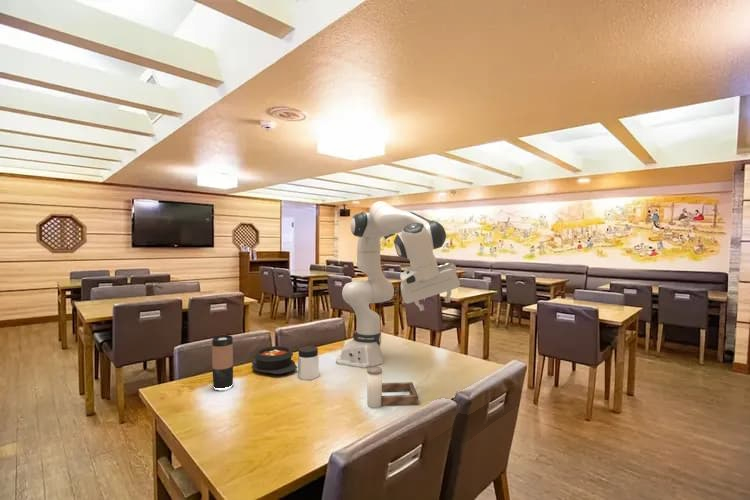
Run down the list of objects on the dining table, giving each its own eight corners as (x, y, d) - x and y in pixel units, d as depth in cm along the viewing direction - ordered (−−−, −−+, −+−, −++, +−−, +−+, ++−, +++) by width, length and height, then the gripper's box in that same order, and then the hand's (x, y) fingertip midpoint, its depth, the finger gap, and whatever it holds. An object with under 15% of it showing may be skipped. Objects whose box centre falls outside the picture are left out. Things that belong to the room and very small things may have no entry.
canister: (365, 407, 131) (365, 370, 130) (369, 400, 136) (369, 365, 135) (380, 409, 129) (380, 372, 129) (383, 402, 135) (383, 366, 134)
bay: (382, 405, 132) (382, 397, 132) (379, 390, 145) (379, 383, 145) (418, 404, 133) (418, 396, 132) (412, 389, 146) (412, 382, 145)
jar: (320, 378, 157) (320, 350, 156) (301, 381, 153) (301, 353, 153) (314, 371, 165) (314, 344, 165) (296, 374, 161) (296, 347, 161)
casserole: (307, 370, 166) (307, 352, 166) (269, 382, 153) (269, 362, 153) (277, 357, 184) (277, 341, 184) (241, 367, 171) (241, 349, 170)
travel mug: (237, 385, 149) (237, 336, 149) (222, 393, 142) (221, 341, 142) (223, 382, 153) (222, 334, 152) (208, 389, 146) (207, 339, 145)
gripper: (451, 258, 129) (460, 293, 133) (395, 276, 129) (406, 310, 133) (457, 263, 123) (466, 300, 127) (398, 282, 123) (409, 318, 127)
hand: (435, 306), depth 130 cm, fingers open, 8 cm apart
